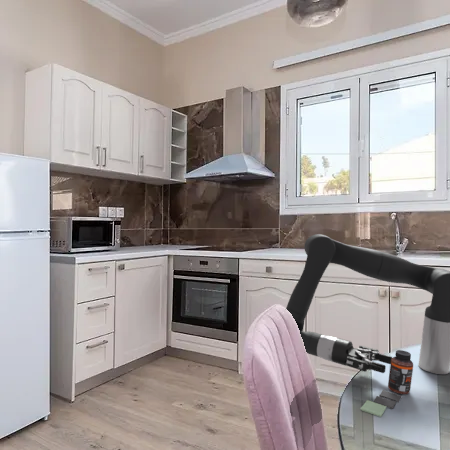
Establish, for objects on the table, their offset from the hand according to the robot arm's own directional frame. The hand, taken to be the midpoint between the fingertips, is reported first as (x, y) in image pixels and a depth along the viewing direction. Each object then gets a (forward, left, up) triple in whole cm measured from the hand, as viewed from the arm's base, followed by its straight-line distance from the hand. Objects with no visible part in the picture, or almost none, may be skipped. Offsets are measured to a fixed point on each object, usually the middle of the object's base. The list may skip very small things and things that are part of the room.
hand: (388, 364), depth 121 cm
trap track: (+12, +1, -7) cm, 14 cm away
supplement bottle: (0, +4, -7) cm, 8 cm away
